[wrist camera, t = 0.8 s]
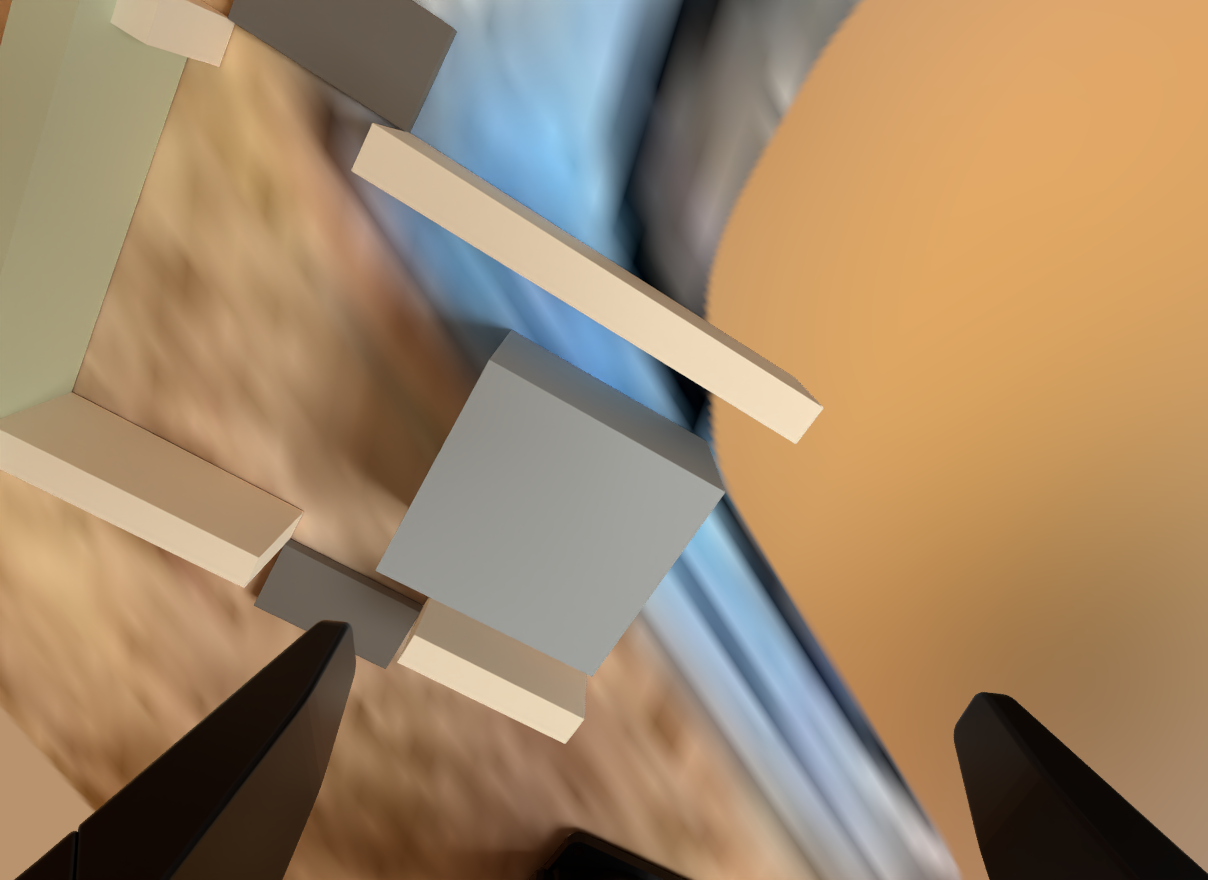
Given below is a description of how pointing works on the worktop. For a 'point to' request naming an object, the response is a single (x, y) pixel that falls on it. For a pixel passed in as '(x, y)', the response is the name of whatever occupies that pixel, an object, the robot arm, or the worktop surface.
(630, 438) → the slate block
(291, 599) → the block
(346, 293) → the worktop surface
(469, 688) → the trap lane
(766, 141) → the worktop surface
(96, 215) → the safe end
